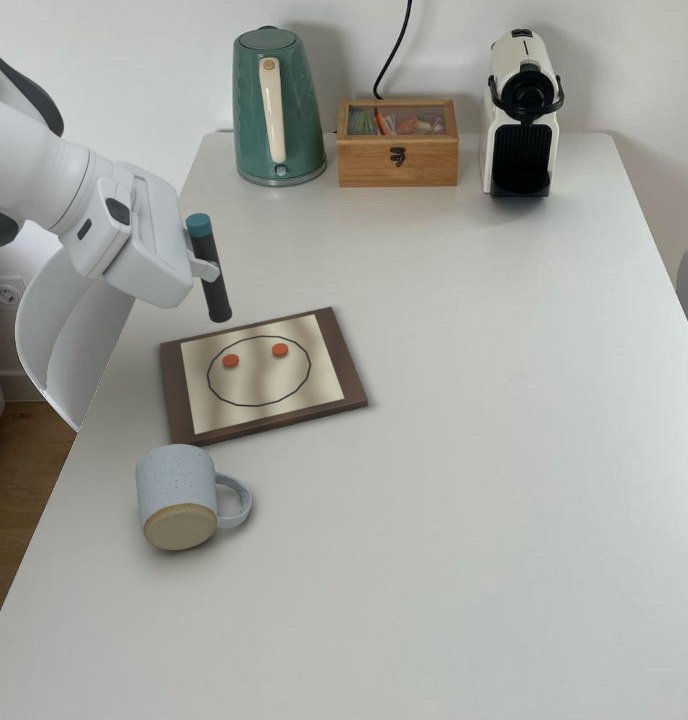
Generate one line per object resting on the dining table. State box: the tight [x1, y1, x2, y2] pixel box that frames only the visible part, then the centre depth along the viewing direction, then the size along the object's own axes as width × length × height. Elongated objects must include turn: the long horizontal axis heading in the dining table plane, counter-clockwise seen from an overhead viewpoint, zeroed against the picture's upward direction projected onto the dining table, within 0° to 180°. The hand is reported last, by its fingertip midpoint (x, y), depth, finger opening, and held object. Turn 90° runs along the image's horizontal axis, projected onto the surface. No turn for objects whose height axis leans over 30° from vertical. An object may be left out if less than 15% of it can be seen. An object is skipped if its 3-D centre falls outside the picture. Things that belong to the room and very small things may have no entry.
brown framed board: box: [159, 306, 369, 448], centre depth 97 cm, size 22×18×1 cm
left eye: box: [222, 354, 239, 367], centre depth 97 cm, size 2×2×1 cm
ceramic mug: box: [134, 443, 253, 551], centre depth 80 cm, size 11×8×8 cm
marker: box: [185, 212, 233, 324], centre depth 88 cm, size 3×3×13 cm
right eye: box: [272, 343, 288, 356], centre depth 98 cm, size 2×2×1 cm
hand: (213, 264), depth 88 cm, fingers closed on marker, 2 cm apart
